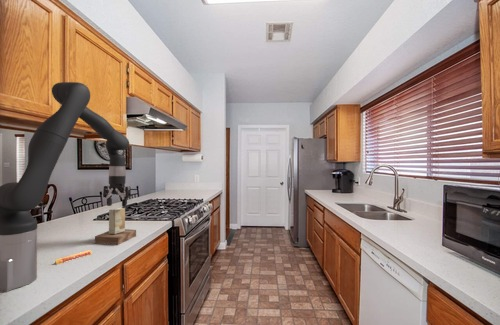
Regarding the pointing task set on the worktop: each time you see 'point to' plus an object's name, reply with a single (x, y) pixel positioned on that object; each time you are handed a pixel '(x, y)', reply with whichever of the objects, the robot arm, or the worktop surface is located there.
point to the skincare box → (116, 220)
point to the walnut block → (115, 237)
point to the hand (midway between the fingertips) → (116, 206)
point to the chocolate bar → (72, 257)
